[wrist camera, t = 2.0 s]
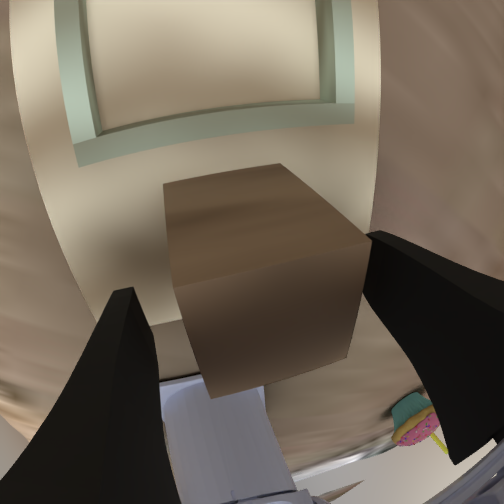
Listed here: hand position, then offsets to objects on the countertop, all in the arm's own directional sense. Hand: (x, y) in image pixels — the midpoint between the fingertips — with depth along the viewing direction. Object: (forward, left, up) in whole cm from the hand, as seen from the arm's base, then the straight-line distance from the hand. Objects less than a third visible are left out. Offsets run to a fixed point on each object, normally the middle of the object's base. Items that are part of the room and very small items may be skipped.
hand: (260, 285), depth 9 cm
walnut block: (0, 0, -4) cm, 4 cm away
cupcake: (-35, -22, -5) cm, 41 cm away
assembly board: (+4, 0, -5) cm, 7 cm away
